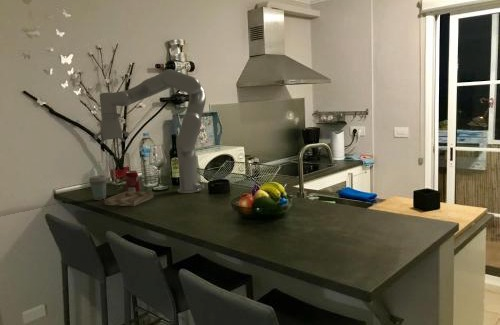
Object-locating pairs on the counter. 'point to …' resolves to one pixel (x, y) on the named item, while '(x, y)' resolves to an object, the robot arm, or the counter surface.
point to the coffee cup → (98, 187)
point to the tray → (129, 198)
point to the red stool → (132, 181)
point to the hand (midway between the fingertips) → (113, 150)
